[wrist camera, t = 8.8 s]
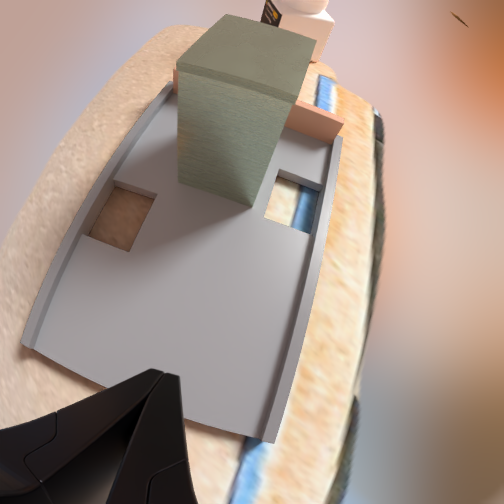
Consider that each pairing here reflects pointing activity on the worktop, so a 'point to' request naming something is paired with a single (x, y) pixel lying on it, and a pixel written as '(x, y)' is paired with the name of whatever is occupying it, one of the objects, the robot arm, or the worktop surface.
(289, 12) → the medicine bottle
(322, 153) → the tray
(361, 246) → the worktop surface
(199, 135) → the tea tin
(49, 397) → the worktop surface
